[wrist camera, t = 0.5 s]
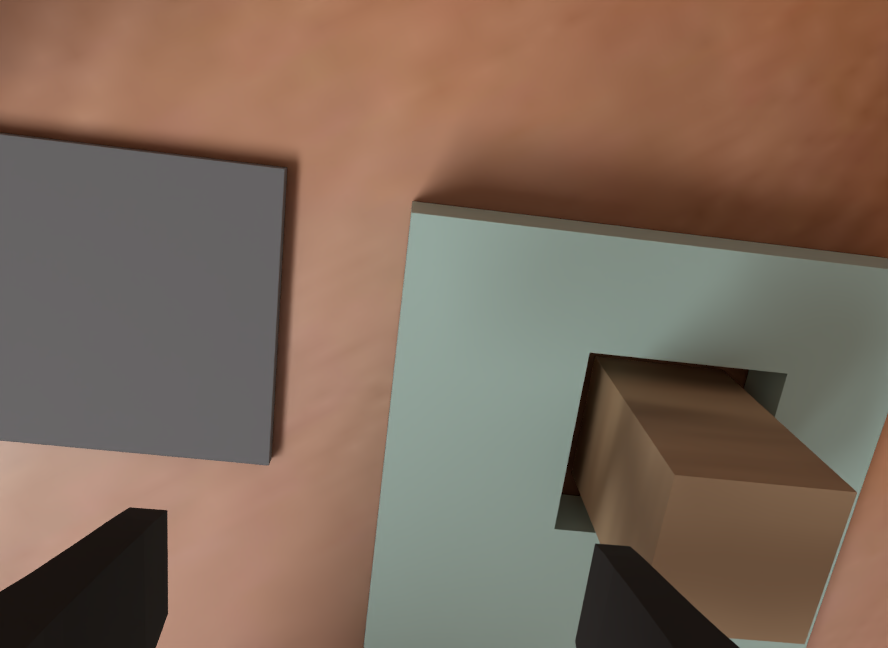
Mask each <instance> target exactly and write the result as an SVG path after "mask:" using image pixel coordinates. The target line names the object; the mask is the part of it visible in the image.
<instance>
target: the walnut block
mask: <svg viewBox="0 0 888 648" xmlns="http://www.w3.org/2000/svg"><path fill="white" fill-rule="evenodd" d="M572 475H573V477H574V480H575V482H576V485H577V487H578V490H579V492H580V495H581V497H582V500H583V502H584V505H585V507H586V510H587V512H588V515H589V517H590V520H591V522H592V525H593V527H594V530H595V532H596V535H597V537H598V540H599V542H600V544H609V545H622V546H630V547H632V548H633V549H634V550H635V551H636V552H637V553H638V554H640V555H641V556H642V557H643V558H644V559H645V560H646V561H647V562H648V563H649V564H650V565H651V566H652V567H653V568H654V569H655V570H657V571H658V572H659V573H660V574H661V575H662V576H663V577H664V578H665V579H666V580H667V581H668V582H669V583H670V584H671V585H672V586H673V587H674V588H675V589H676V590H677V591H678V592H679V593H680V594H681V595H683V596H684V597H685V598H686V599H687V600H688V601H689V602H690V603H691V604H692V605H693V606H694V607H695V608H696V609H697V610H698V611H699V612H701V613H702V614H703V615H704V616H705V617H706V618H707V619H708V620H709V621H710V622H711V623H713V624H714V625H715V626H716V627H717V628H718V629H719V630H720V631H721V632H723V633H724V634H725V635H726V636H727V637H728V638H732V639H745V640H757V641H770V642H782V643H795V644H805V642H806V639H807V636H808V633H809V630H810V627H811V625H812V622H813V619H814V616H815V613H816V610H817V607H818V604H819V601H820V599H821V596H822V593H823V590H824V587H825V584H826V581H827V578H828V576H829V573H830V570H831V567H832V564H833V561H834V558H835V555H836V552H837V550H838V547H839V544H840V541H841V538H842V535H843V532H844V529H845V527H846V524H847V521H848V518H849V515H850V512H851V509H852V506H853V503H854V501H855V498H856V495H857V492H856V491H855V490H854V489H853V488H852V487H851V486H850V485H849V484H848V483H846V482H845V481H844V480H843V479H842V478H841V477H840V476H839V475H838V474H837V473H835V472H834V471H833V470H832V469H831V468H830V467H829V466H828V465H827V464H826V463H824V462H823V461H822V460H821V459H820V458H819V457H818V456H817V455H816V454H815V453H813V452H812V451H811V450H810V449H809V448H808V447H807V446H806V445H805V444H803V443H802V442H801V441H800V440H799V439H798V438H797V437H796V436H795V435H794V434H792V433H791V432H790V431H789V430H788V429H787V428H786V427H785V426H784V425H783V424H781V423H780V422H779V421H778V420H777V419H776V418H775V417H774V416H773V415H772V414H770V413H769V412H768V411H767V410H766V409H765V408H764V407H763V406H762V405H761V404H759V403H758V402H757V401H756V400H755V399H754V398H753V397H752V396H751V395H750V394H748V393H747V392H746V391H745V390H744V389H743V388H742V387H741V386H740V385H739V384H737V383H736V382H735V381H734V380H733V379H732V378H731V377H730V376H729V375H728V374H726V373H725V372H724V371H723V370H719V369H710V368H701V367H691V366H682V365H673V364H663V363H654V362H645V361H635V360H626V359H616V358H607V357H598V356H595V359H594V364H593V369H592V374H591V379H590V384H589V388H588V393H587V398H586V403H585V408H584V413H583V418H582V423H581V428H580V433H579V438H578V443H577V448H576V452H575V457H574V462H573V467H572Z"/></svg>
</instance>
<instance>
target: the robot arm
mask: <svg viewBox="0 0 888 648" xmlns="http://www.w3.org/2000/svg"><path fill="white" fill-rule="evenodd" d="M167 615H168V549H167V510H155V509H142V508H128V509H126V510H125V511H123V512H122V513H120V514H118V515H117V516H115V517H114V518H112V519H111V520H109V521H108V522H106V523H105V524H103V525H102V526H100V527H99V528H97V529H96V530H95V531H93V532H92V533H90V534H89V535H87V536H86V537H84V538H83V539H81V540H80V541H78V542H77V543H75V544H74V545H73V546H71V547H70V548H68V549H66V550H65V551H63V552H62V553H60V554H59V555H57V556H56V557H54V558H53V559H51V560H50V561H48V562H47V563H45V564H44V565H42V566H41V567H39V568H38V569H36V570H35V571H33V572H32V573H30V574H29V575H27V576H25V577H24V578H22V579H20V580H19V581H17V582H15V583H14V584H12V585H11V586H9V587H7V588H6V589H4V590H2V591H1V592H0V648H156V645H157V643H158V640H159V637H160V634H161V631H162V629H163V626H164V623H165V620H166V617H167ZM575 644H576V648H740V647H738V646H737V645H736V644H735V643H734V642H733V641H732V640H730V639H729V638H728V637H727V636H726V635H725V634H724V633H723V632H721V631H720V630H719V629H718V628H717V627H716V626H715V625H714V624H713V623H711V622H710V621H709V620H708V619H707V618H706V617H705V616H704V615H703V614H702V613H701V612H699V611H698V610H697V609H696V608H695V607H694V606H693V605H692V604H691V603H690V602H689V601H688V600H687V599H686V598H685V597H684V596H683V595H681V594H680V593H679V592H678V591H677V590H676V589H675V588H674V587H673V586H672V585H671V584H670V583H669V582H668V581H667V580H666V579H665V578H664V577H663V576H662V575H661V574H660V573H659V572H658V571H657V570H655V569H654V568H653V567H652V566H651V565H650V564H649V563H648V562H647V561H646V560H645V559H644V558H643V557H642V556H641V555H640V554H638V553H637V552H636V551H635V550H634V549H633V548H632V547H630V546H622V545H609V544H596V543H595V546H594V551H593V556H592V561H591V566H590V571H589V576H588V581H587V585H586V590H585V595H584V600H583V605H582V610H581V615H580V619H579V624H578V629H577V634H576V639H575Z"/></svg>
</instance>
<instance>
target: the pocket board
mask: <svg viewBox="0 0 888 648" xmlns="http://www.w3.org/2000/svg"><path fill="white" fill-rule="evenodd" d="M589 353H599V354H609V355H618V356H628V357H637V358H646V359H656V360H665V361H674V362H684V363H693V364H702V365H712V366H721V367H730V368H740V369H749V372H748V375H747V379H746V383H745V386H744V390H745V391H746V392H747V393H748V394H750V395H751V396H752V397H753V398H754V399H755V400H756V401H757V402H758V403H759V404H761V405H762V406H763V407H764V408H765V409H766V410H767V411H768V412H769V413H770V414H772V415H773V416H774V417H775V418H776V419H777V420H778V421H779V422H780V423H781V424H783V425H784V426H785V427H786V428H787V429H788V430H789V431H790V432H791V433H792V434H794V435H795V436H796V437H797V438H798V439H799V440H800V441H801V442H802V443H803V444H805V445H806V446H807V447H808V448H809V449H810V450H811V451H812V452H813V453H815V454H816V455H817V456H818V457H819V458H820V459H821V460H822V461H823V462H824V463H826V464H827V465H828V466H829V467H830V468H831V469H832V470H833V471H834V472H835V473H837V474H838V475H839V476H840V477H841V478H842V479H843V480H844V481H845V482H846V483H848V484H849V485H850V486H851V487H852V488H853V489H854V490H855V491H856V492H857V495H856V498H855V501H854V503H853V506H852V509H851V512H850V515H849V518H848V521H847V524H846V527H845V529H844V532H843V535H842V538H841V541H840V544H839V547H838V550H837V552H836V555H835V558H834V561H833V564H832V567H831V570H830V573H829V576H828V578H827V581H826V584H825V587H824V590H823V593H822V596H821V599H820V601H819V604H818V607H817V610H816V613H815V616H814V619H813V622H812V625H811V627H810V630H809V633H808V636H807V639H806V642H805V644H795V643H782V642H770V641H757V640H745V639H732V638H729V639H730V640H732V641H733V642H734V643H735V644H736V645H737V646H738V647H740V648H806V646H807V643H808V640H809V637H810V634H811V632H812V629H813V626H814V623H815V620H816V617H817V614H818V611H819V609H820V606H821V603H822V600H823V597H824V594H825V591H826V589H827V586H828V583H829V580H830V577H831V574H832V571H833V568H834V566H835V563H836V560H837V557H838V554H839V551H840V548H841V545H842V543H843V540H844V537H845V534H846V531H847V528H848V525H849V523H850V520H851V517H852V514H853V511H854V508H855V505H856V502H857V500H858V497H859V494H860V491H861V488H862V485H863V482H864V479H865V477H866V474H867V471H868V468H869V465H870V462H871V459H872V457H873V454H874V451H875V448H876V445H877V442H878V439H879V436H880V434H881V431H882V428H883V425H884V422H885V419H886V416H887V413H888V258H882V257H874V256H866V255H857V254H849V253H841V252H832V251H824V250H816V249H807V248H799V247H791V246H782V245H774V244H766V243H757V242H749V241H741V240H732V239H724V238H716V237H707V236H699V235H691V234H682V233H674V232H666V231H657V230H649V229H641V228H632V227H624V226H616V225H607V224H599V223H591V222H582V221H574V220H566V219H557V218H549V217H541V216H532V215H524V214H516V213H507V212H499V211H491V210H482V209H474V208H466V207H457V206H449V205H441V204H432V203H424V202H416V201H412V210H411V220H410V229H409V238H408V247H407V256H406V265H405V274H404V283H403V292H402V301H401V310H400V320H399V329H398V338H397V347H396V356H395V365H394V374H393V383H392V392H391V401H390V411H389V420H388V429H387V438H386V447H385V456H384V465H383V474H382V483H381V492H380V502H379V511H378V520H377V529H376V538H375V547H374V556H373V565H372V574H371V583H370V593H369V602H368V611H367V620H366V629H365V638H364V647H363V648H576V644H575V639H576V634H577V629H578V624H579V619H580V615H581V610H582V605H583V600H584V595H585V590H586V585H587V581H588V576H589V571H590V566H591V561H592V556H593V551H594V546H595V543H596V544H600V542H599V540H598V537H597V535H596V532H595V530H594V527H593V525H592V522H591V520H590V517H589V515H588V512H587V510H586V507H585V505H584V502H583V500H582V497H581V496H573V495H562V494H561V493H562V488H563V483H564V478H565V473H566V468H567V463H568V458H569V453H570V448H571V443H572V438H573V433H574V428H575V423H576V418H577V413H578V408H579V403H580V398H581V393H582V388H583V383H584V378H585V373H586V368H587V363H588V358H589Z"/></svg>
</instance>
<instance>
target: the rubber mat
mask: <svg viewBox="0 0 888 648" xmlns="http://www.w3.org/2000/svg"><path fill="white" fill-rule="evenodd" d="M286 182H287V168H286V167H278V166H270V165H262V164H254V163H245V162H237V161H229V160H221V159H212V158H204V157H196V156H188V155H180V154H171V153H163V152H155V151H147V150H139V149H130V148H122V147H114V146H106V145H98V144H89V143H81V142H73V141H65V140H57V139H48V138H40V137H32V136H24V135H15V134H7V133H0V441H11V442H22V443H32V444H43V445H54V446H65V447H75V448H86V449H97V450H108V451H119V452H129V453H140V454H151V455H162V456H172V457H183V458H194V459H205V460H215V461H226V462H237V463H248V464H259V465H269V463H270V461H271V456H272V438H273V419H274V401H275V383H276V364H277V346H278V328H279V310H280V291H281V273H282V255H283V236H284V218H285V200H286Z"/></svg>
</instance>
